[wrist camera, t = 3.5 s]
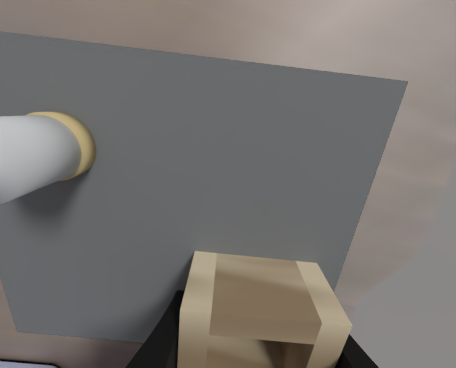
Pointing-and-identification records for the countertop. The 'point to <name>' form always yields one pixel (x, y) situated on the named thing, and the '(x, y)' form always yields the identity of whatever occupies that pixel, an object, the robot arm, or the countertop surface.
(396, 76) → the countertop surface
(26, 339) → the countertop surface
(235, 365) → the collar
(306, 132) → the post mat
